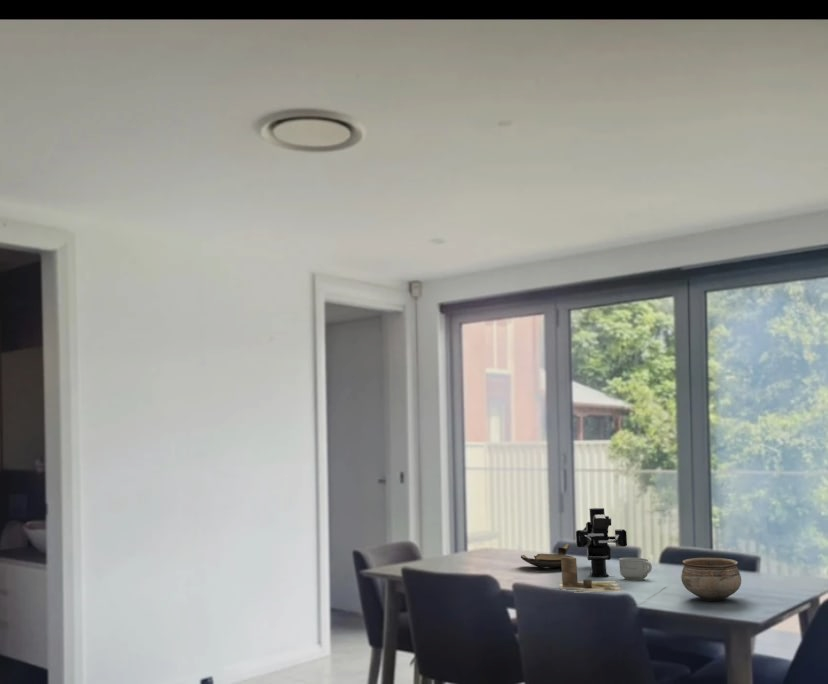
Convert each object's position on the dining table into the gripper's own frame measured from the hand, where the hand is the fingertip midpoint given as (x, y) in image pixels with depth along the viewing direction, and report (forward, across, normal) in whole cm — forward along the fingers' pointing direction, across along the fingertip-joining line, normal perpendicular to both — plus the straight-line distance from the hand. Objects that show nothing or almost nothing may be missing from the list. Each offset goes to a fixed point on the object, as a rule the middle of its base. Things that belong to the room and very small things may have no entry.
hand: (603, 541), depth 298 cm
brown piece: (+6, -7, +16) cm, 18 cm away
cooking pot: (+24, +32, +16) cm, 43 cm away
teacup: (-13, +13, +17) cm, 25 cm away
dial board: (+4, -6, +17) cm, 18 cm away
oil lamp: (-48, -17, +17) cm, 54 cm away
